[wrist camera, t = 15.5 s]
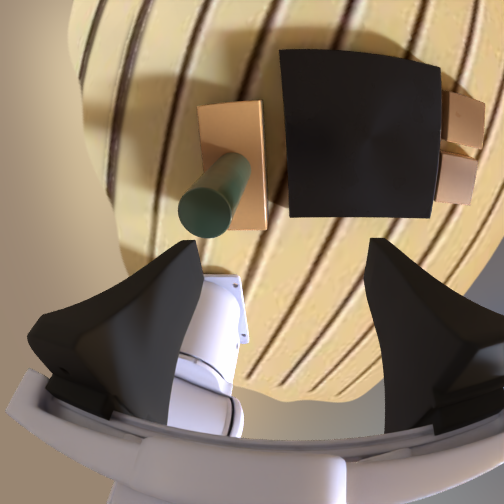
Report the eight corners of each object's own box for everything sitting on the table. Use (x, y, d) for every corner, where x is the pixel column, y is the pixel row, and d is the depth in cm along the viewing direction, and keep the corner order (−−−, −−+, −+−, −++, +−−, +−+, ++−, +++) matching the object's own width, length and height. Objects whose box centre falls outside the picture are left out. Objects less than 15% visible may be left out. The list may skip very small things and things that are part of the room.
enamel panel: (422, 211, 19) (430, 218, 18) (289, 209, 21) (289, 217, 20) (431, 68, 13) (440, 67, 12) (279, 53, 15) (278, 49, 13)
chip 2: (463, 199, 18) (470, 205, 17) (429, 196, 19) (435, 202, 18) (470, 156, 16) (478, 160, 15) (435, 149, 16) (442, 153, 15)
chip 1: (474, 146, 15) (482, 149, 14) (439, 138, 16) (446, 141, 15) (477, 101, 13) (485, 103, 12) (441, 90, 14) (449, 90, 13)
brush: (268, 215, 21) (256, 297, 14) (219, 216, 22) (181, 293, 14) (262, 99, 17) (242, 101, 9) (206, 104, 17) (143, 116, 9)
